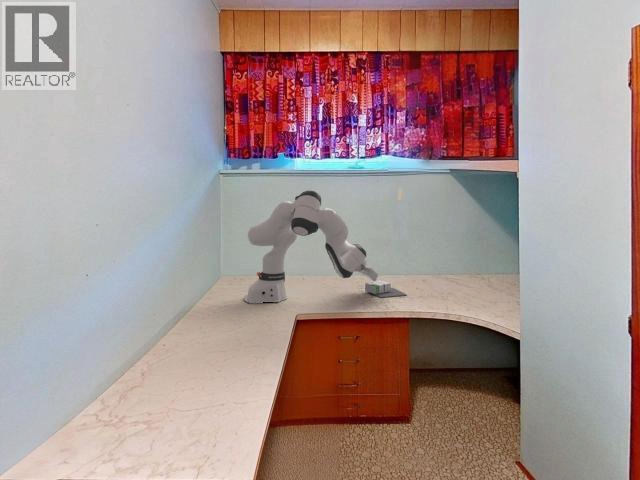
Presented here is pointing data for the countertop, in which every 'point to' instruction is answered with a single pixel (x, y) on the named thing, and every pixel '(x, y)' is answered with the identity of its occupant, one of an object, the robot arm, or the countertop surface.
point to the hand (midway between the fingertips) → (374, 280)
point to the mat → (391, 293)
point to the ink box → (377, 287)
